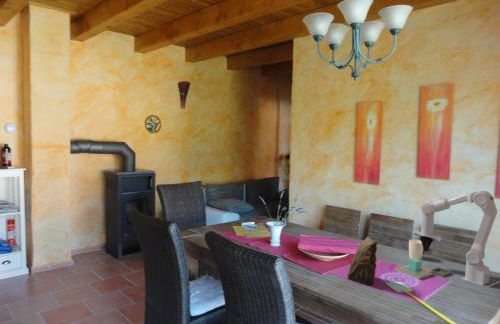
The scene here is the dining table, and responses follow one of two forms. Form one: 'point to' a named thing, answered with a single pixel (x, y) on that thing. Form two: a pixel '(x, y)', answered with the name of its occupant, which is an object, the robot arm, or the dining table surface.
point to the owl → (364, 263)
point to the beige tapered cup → (415, 249)
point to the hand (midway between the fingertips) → (425, 251)
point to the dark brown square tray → (441, 272)
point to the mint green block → (414, 265)
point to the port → (417, 275)
